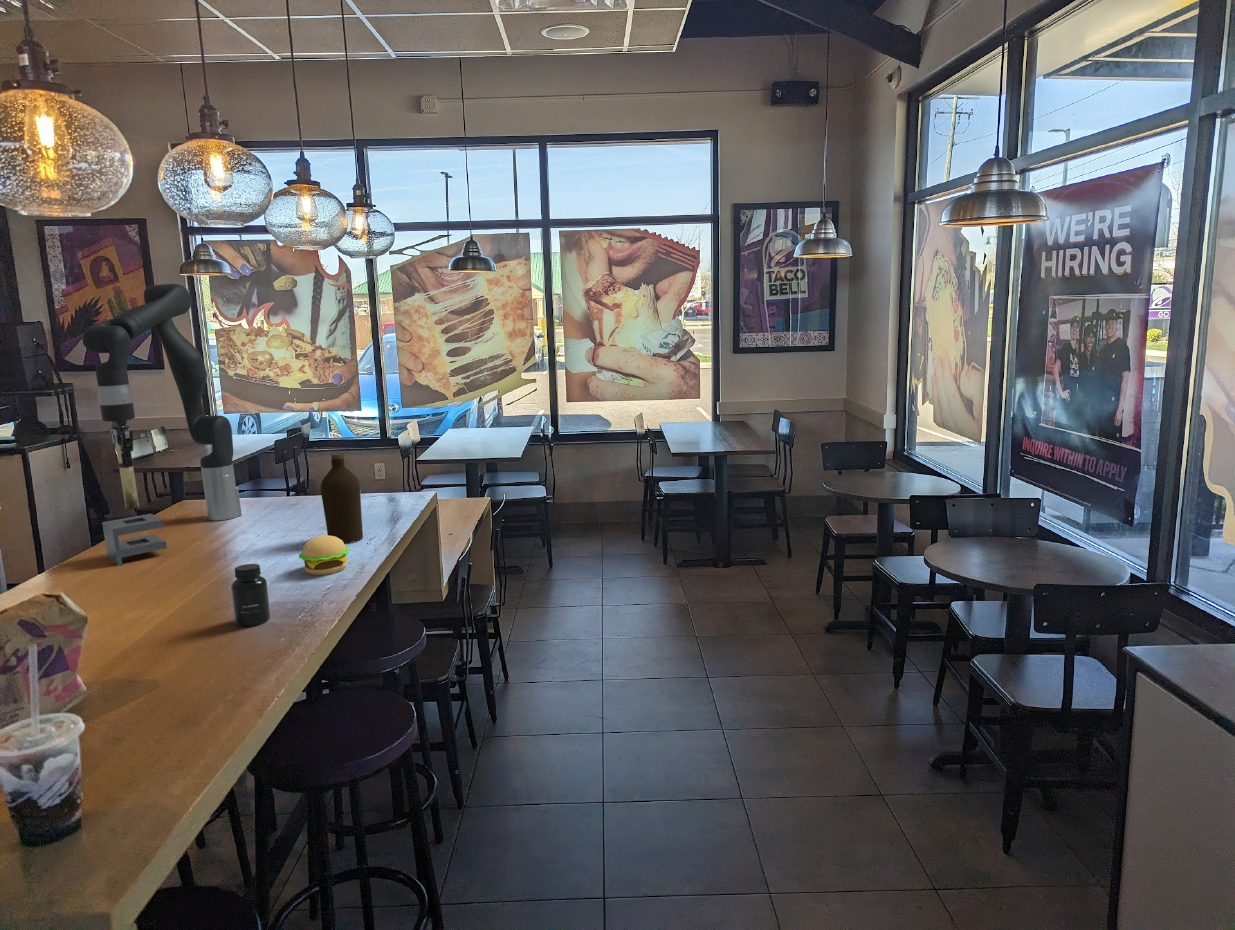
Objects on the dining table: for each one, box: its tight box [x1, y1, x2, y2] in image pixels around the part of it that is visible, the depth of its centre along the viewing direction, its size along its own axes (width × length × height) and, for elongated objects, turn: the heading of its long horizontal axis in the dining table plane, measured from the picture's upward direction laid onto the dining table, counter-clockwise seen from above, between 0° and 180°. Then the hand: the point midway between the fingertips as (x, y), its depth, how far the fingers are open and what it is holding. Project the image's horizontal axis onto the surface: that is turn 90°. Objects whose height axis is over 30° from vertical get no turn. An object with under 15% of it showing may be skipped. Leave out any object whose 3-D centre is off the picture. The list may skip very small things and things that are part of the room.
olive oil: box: [320, 452, 364, 544], centre depth 227 cm, size 11×11×25 cm
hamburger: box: [298, 534, 350, 576], centre depth 202 cm, size 12×12×9 cm
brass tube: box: [115, 444, 140, 510], centre depth 216 cm, size 3×3×18 cm
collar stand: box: [101, 513, 168, 566], centre depth 219 cm, size 12×11×10 cm
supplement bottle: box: [230, 563, 271, 628], centre depth 168 cm, size 7×7×12 cm
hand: (126, 465), depth 216 cm, fingers closed on brass tube, 3 cm apart
